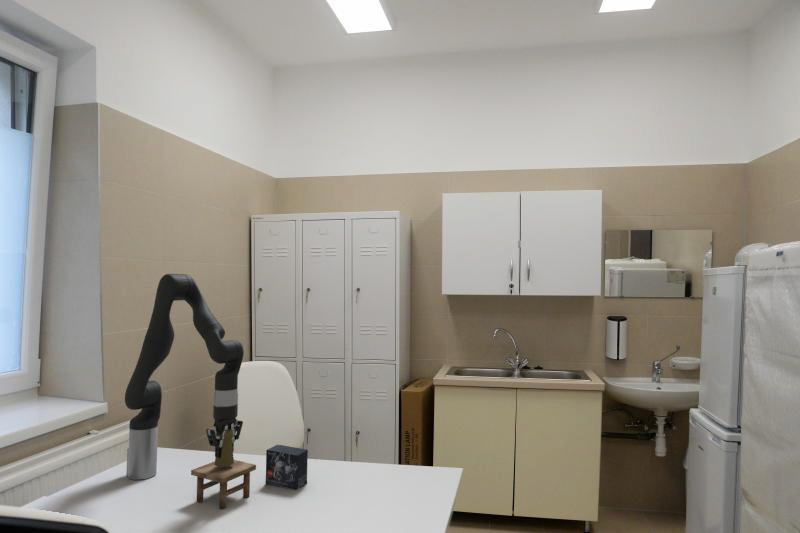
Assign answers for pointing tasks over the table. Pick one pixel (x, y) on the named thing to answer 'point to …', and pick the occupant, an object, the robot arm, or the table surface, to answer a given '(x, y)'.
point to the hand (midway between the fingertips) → (224, 456)
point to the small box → (286, 467)
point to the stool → (223, 479)
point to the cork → (226, 450)
